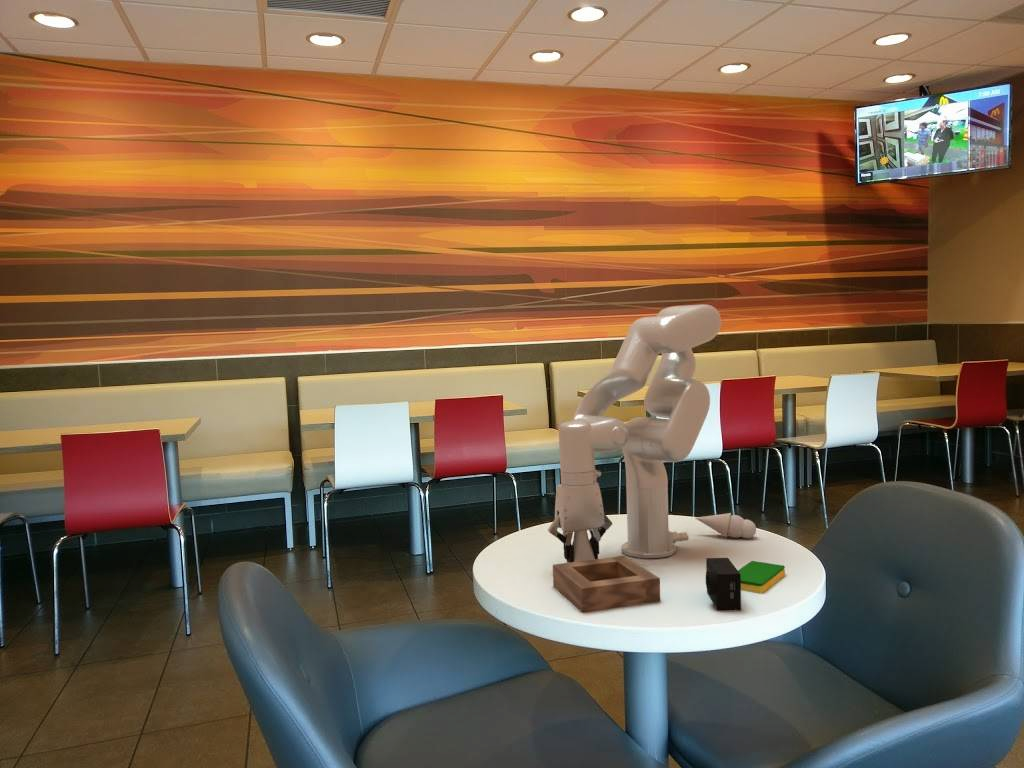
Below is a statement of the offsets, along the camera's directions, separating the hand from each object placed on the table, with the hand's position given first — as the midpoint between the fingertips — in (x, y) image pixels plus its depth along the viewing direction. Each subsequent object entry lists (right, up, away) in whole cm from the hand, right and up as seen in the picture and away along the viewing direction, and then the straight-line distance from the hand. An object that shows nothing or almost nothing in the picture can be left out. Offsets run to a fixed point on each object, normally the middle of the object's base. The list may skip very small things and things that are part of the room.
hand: (581, 559), depth 167 cm
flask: (0, -2, 0) cm, 2 cm away
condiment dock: (+3, -3, -16) cm, 16 cm away
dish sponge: (+35, -3, -11) cm, 37 cm away
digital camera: (+24, -3, -22) cm, 33 cm away
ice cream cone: (+38, 0, +22) cm, 44 cm away
